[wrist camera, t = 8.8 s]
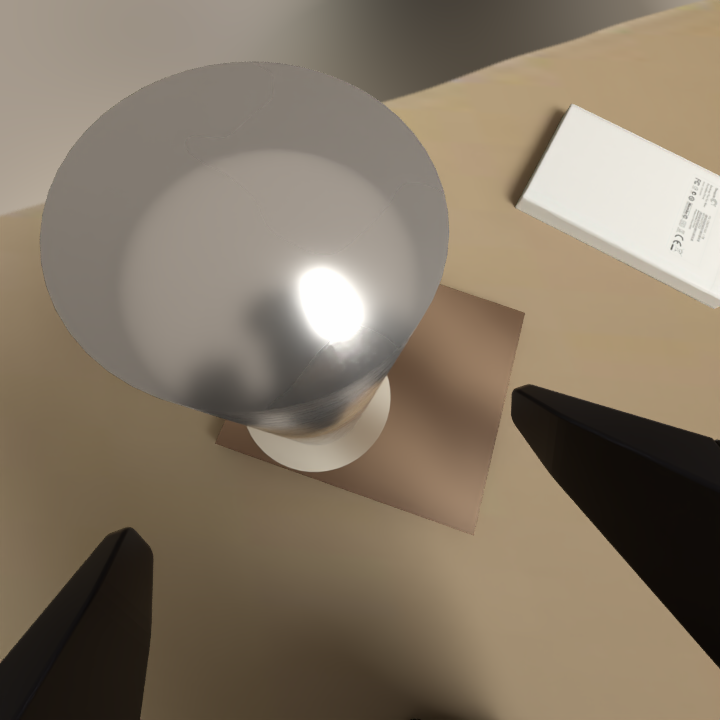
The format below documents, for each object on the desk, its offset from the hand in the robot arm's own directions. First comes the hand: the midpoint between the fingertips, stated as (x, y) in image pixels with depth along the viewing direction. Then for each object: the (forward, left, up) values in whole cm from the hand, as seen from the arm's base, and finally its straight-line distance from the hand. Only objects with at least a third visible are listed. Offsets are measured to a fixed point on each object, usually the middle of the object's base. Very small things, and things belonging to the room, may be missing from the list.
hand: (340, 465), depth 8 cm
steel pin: (+2, +2, -8) cm, 8 cm away
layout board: (+4, -1, -9) cm, 10 cm away
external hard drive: (+20, -12, -10) cm, 25 cm away
